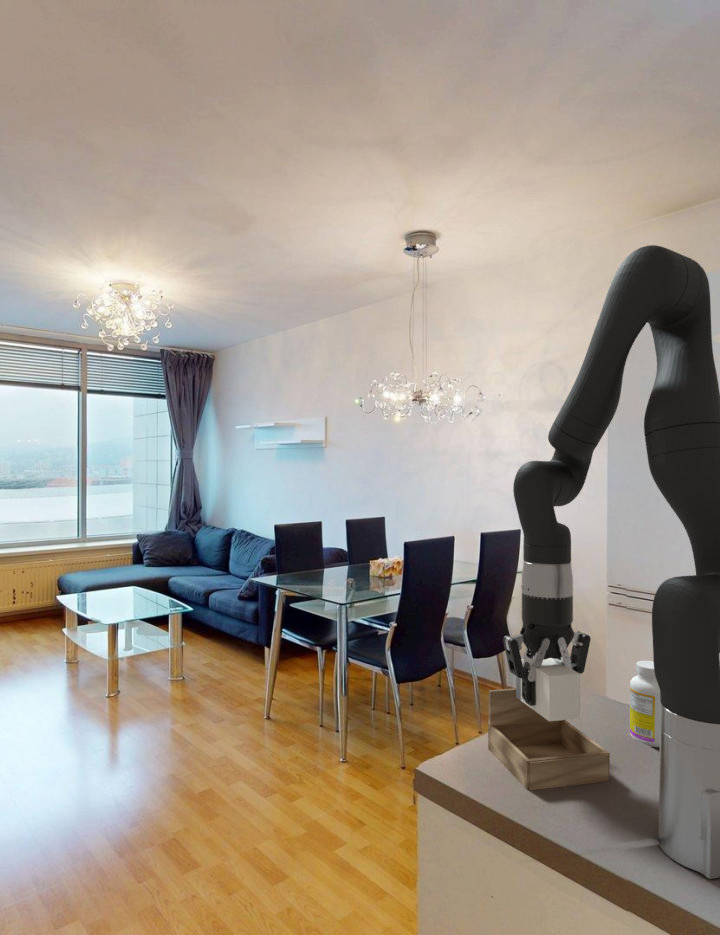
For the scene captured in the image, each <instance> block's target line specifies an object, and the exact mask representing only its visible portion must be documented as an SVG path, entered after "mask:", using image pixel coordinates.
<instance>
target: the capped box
mask: <svg viewBox="0 0 720 935" xmlns="http://www.w3.org/2000/svg"><path fill="white" fill-rule="evenodd" d="M520 656H521V660H522V665H523V662H524V660H523V657H524V655H520ZM534 657H535V656H533V659H534ZM515 677H516V678H515V681H516V682H515V686H516V687H515V688H516V698H518V699H519V700H520V701H522V702H523V703H525V704H526V705H527V706H529V707H530V708H531V709H533V710H534V711H536V712H537V713H538V714H540V715H541V716H542V717H544V718H545V719H547V720H548V721H559V720H566V721H568V720H578V719H579V720H580V719H581V674H580V673H578V672H576V671H574V670H572V669H570V668H568V667H567V666H562V665H561V664H560V663H557V662H555V661H554V660H553V658H548V659H545V660H543V662H542V665H541V667H540V668H536V677H535V680H534V681H535V682H536V704H535V706H530V705H529V704H527V703H526V702H525V700H524V699H523V698H522V679H521V678H519V677H517V676H516V675H515Z"/></svg>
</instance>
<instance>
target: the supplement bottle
mask: <svg viewBox="0 0 720 935" xmlns="http://www.w3.org/2000/svg"><path fill="white" fill-rule="evenodd" d="M635 666H636V667H635V670H636V672H637V675H635V676H633V677H632V678H631V679H630V681H629V734H630V737H632V738H633V739H634V740H636V741H638V742H641V743H643V744H645V745H648V746H649V747H651V748H660V688H659V686H658V683H657V680H656V676H655V672H654V660H653V661H652V660H640V661H639V660H638V661H637V662H636V665H635Z"/></svg>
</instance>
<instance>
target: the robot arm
mask: <svg viewBox="0 0 720 935" xmlns="http://www.w3.org/2000/svg"><path fill="white" fill-rule="evenodd" d="M614 274H615V275H614V276H613V278H612V281H611V283H610V285H609V288H608V290H607V293H606V296H605V299H604V302H603V305H602V308H601V311H600V314H599V317H598V319H597V321H596V325H595V327H594V330H593V333H592V336H591V339H590V342H589V344H588V347H587V350H586V353H585V357H584V358H583V361H582V365H581V366H580V369H579V371H578V374H577V376H576V379H575V381H574V383H573V385H572V387H571V389H570V391H569V393H568V395H567V396H566V398H565V400H564V402H563V404H562V406H561V408H560V410H559V411H558V413H557V415H556V417H555V419H554V421H553V423H552V425H551V426H550V429H549V431H548V435H547V440H548V442H549V445H551V447H552V448H553V449H554V453H553V455H552V457H551V459H550V460H548V461H547V460H531V461H526V462H524V463H523V464H522V465H521V466H520V467H519V469H518V470H517V472H516V474H515V477H514V481H513V485H512V486H513V490H512V492H513V498H514V503H515V505H516V506H515V507H516V511H517V515H518V518H519V522H520V523H519V524H520V526H521V530H522V533H523V559H522V560H523V562H522V563H523V564H522V571H521V586H520V587H521V621H522V627H521V629H520V632H519V633H518V634H515V635H512V636H510V635H507V634H506V635H504V636H503V637H502V643H503V647H504V651H505V654H506V660H507V665H508V669H509V672H510V673H511V674H513V676H515V677H516V676H517V677H519V678H521V679H522V698H523V699H524V700H525V702H526V703H527V704H529V705H530V706H535V704H536V682H535V681H534V680H535V677H536V668H540V667H541V665H542V662H543V660H545V659H548V658H552V659H553V660H554V661H555V662H557V663H560V664H561V665H562V666H567V667H568V668H570V669H572V670H574V671H576V672H578V673H580V675H581V674H583V673H584V672H585V667H586V663H587V660H588V659H587V658H588V653H589V649H590V645H591V636H590V635H589V634H586V633H585V632H581V631H579V630H577V631H574V629H573V627H572V624H573V621H574V595H573V594H574V587H573V586H574V578H573V570H572V537H571V531H570V528H569V526H567V525H566V524H564V523H561V522H558V519H557V516H556V511H555V508H554V507H564V506H566V505H568V504H570V503H572V502H573V501H574V500H575V499H576V498H577V497H578V496H579V494H580V493H581V491H582V490H583V487H584V485H585V483H586V480H587V476H588V473H589V469H590V467H591V464H592V459H593V455H594V454H593V453H594V451H595V449H596V447H597V446H598V445H599V443H600V442H601V439H602V438H603V436H604V434H605V433H606V432H607V431H606V430H607V429H608V427H609V426H610V424H611V422H612V420H613V419H614V416H615V414H616V412H617V410H618V406H619V402H620V398H621V393H622V386H623V377H624V371H625V366H626V364H627V363H626V362H627V360H628V357H629V354H630V351H631V349H632V347H633V345H634V343H635V342H636V339H637V338H638V336H639V335H640V333H641V332H642V331H643V329H644V327H645V326H646V324H647V323H648V325H649V328H650V331H651V333H652V338H653V344H654V350H655V355H656V356H655V357H656V374H655V379H654V382H653V385H652V389H651V392H650V394H649V398H648V400H647V405H646V408H645V413H644V419H643V432H644V434H643V435H644V440H645V447H646V454H647V456H646V457H647V462H648V467H649V471H650V472H649V473H650V474H651V478H652V480H653V481H654V483H655V485H656V487H657V489H658V491H660V493H661V495H662V496H663V498H664V499H665V501H666V502H667V503H668V505H669V506H670V508H671V509H672V510H673V512H674V513H675V515H676V516H677V517H678V519H679V521H680V523H681V524H682V526H683V528H684V530H685V532H686V534H687V537H688V539H689V543H690V545H691V551H692V556H693V561H694V562H693V563H694V567H695V570H694V571H695V575H693V574H692V575H680V576H674V577H670V578H668V579H667V578H666V580H664V581H663V582H662V583H661V584H659V587H658V588H657V589H656V592H655V593H654V597H653V601H652V606H651V632H652V633H651V634H652V635H651V636H652V651H653V652H652V654H653V655H652V656H653V657H652V658H653V661H654V672H655V676H656V680H657V683H658V686H659V688H660V747H659V765H658V766H659V768H658V769H659V770H658V771H659V772H658V773H659V774H658V776H659V777H658V845H659V847H660V848H661V849H662V851H663V852H664V853H665V854H666V855H667V856H668V857H669V858H670V859H672V860H673V861H675V862H676V863H678V864H680V865H682V866H684V867H686V868H688V869H689V870H693V871H696V872H698V873H700V874H702V875H703V876H705V878H707V879H709V880H711V879H716V878H717V879H719V878H720V387H719V380H718V374H717V369H716V363H715V358H714V350H713V339H712V338H713V337H712V336H713V335H712V311H711V310H712V309H711V289H710V283H709V282H710V281H709V277H708V276H707V273H706V271H705V269H704V268H703V267H702V266H701V265H700V263H698V261H697V260H694V259H693V258H691V257H688V256H686V255H683V254H681V253H679V252H677V251H674V250H672V249H669V248H666V247H664V246H661V245H657V244H656V245H654V244H651V245H649V244H648V245H645V246H642V247H639V248H637V249H635V250H634V251H632V252H631V253H629V254H628V256H626V258H624V260H623V261H621V263H620V265H619V267H618V268H617V270H616V272H615V273H614ZM523 644H524V646H525V647H526V648H525V651H524V654H523V656H524V657H523V660H524V662H523V665H522V660H521V656H522V655H521V650H522V645H523ZM570 644H572V646H571V651H570V653H569V649H568V647H569V645H570ZM533 656H535V657H534V659H533Z"/></svg>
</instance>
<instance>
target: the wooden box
mask: <svg viewBox="0 0 720 935" xmlns="http://www.w3.org/2000/svg"><path fill="white" fill-rule="evenodd" d="M487 723H488V730H487V731H488V734H487V735H488V737H487V738H488V740H487V743H488V744H487V749H488V751H490V752H491V753H492V755H494V757H495V758H496V759H497V760H498V761H499V762H500V763H501V765H503V766H504V767H505V768H506V770H508V772H509V773H510V774H512V776H513V777H514V778H515V779H516V780H517V781H518V782H519V783H520V784H521V785H522V786H523V787H524V788H525V789H526V790H529V791H534V790H543V789H552V788H553V789H554V788H559V787H560V788H562V787H570V786H576V785H577V786H578V785H585V784H587V785H588V784H595V783H604V782H609V781H610V770H611V769H610V765H611V764H610V763H611V762H610V758H611V755H610V754H611V753H610V752H609V751H608V750H606V749H605V748H604V747H603V746H601V745H600V744H598V743H597V742H596V741H594V740H593V739H592V738H590V737H589V736H587V735H586V734H585V733H583V731H581V730H579V728H577V727H576V726H574V725H573V724H571V723H570V722H568V720H559V721H548V720H547V719H545V718H544V717H542V716H541V715H540V714H538V713H537V712H536V711H534V710H533V709H531V708H530V707H529V706H527V705H526V704H525V703H523V702H522V701H520V700H519V699H518V698H516V687H515V688H513V687H512V688H502V689H501V688H500V689H489V690H488V722H487Z"/></svg>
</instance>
